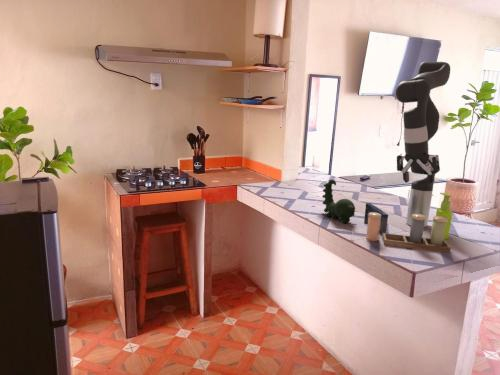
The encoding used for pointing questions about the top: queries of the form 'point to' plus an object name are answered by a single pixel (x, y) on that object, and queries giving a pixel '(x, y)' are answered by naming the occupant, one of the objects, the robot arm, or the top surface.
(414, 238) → the slate blue jar
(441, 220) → the olive jar
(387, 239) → the walnut spice rack
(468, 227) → the top surface
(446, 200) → the soap dispenser
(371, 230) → the terracotta jar
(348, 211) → the toy figurine
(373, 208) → the vhs cassette tape
